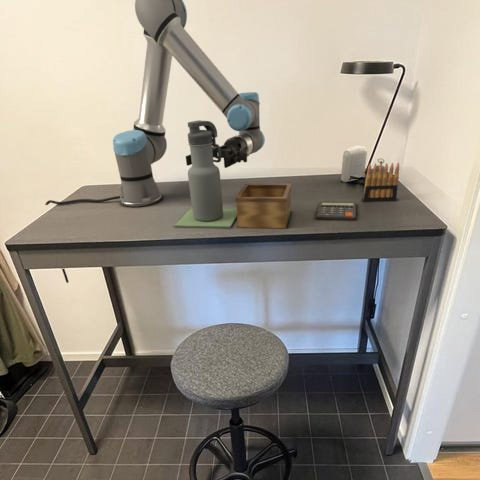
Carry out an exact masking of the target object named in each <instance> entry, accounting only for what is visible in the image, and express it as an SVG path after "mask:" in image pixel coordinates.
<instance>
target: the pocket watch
mask: <svg viewBox="0 0 480 480" xmlns="http://www.w3.org/2000/svg"><path fill="white" fill-rule="evenodd" d="M377 162H378V163H379V164H378V165H377V172H376V179H377V175H378V170H379V166H380V164H381V163H382V164H384V163H385V160H384V159H383V158H381V160H380V158H378V159H377ZM384 168H385V165H382V176H383V172H384ZM372 173H373V168H371V177H372ZM388 175H389V172H388V173H387V179H388ZM381 182H382V181H381Z"/></svg>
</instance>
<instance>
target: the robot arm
mask: <svg viewBox="0 0 480 480" xmlns="http://www.w3.org/2000/svg"><path fill="white" fill-rule="evenodd" d="M134 11H135V15H136V19H137V20H138V22H139V24H140V25H141V27H142V28H143V37H144V38H145V40H146V49H145V50H146V52H145V58H144V59H145V60H144V69H143V79H142V87H141V88H142V89H141V96H140V104H139V105H140V106H139V114H138V118H137V119H136V120H134V122H133V129H132V130H126V131H123V132H119V133H117V134H116V135H114V137H113V138H112V145H113V146H112V147H113V148H112V149H113V152H114V155H115V156H114V157H115V160H116V164H117V169H118V173H119V178H120V192H119V195H117V196H111V197H105V198H101V199H99V198H98V199H93V198H81V199H80V198H79V199H78V198H77V199H71V200H65V201H56V200H54V199H53V200H52V199H51V200H47V201H46V202H45V204H44V205H45V206H48V205H49V204H54V205H67V204H73V203H82V202H87V203H89V202H90V203H103V202H109V201H113V200H119V201H120V204H121V205H122V206H123V207H129V208H138V207H146V206H151V205H154V204H157V203H158V202H160V201H161V200H162V199H163V197H162V193H161V191H160V188H159V186H158V185H157V184H158V183H156V181H155V178H154V175H153V174H154V173H153V169H152V165H153V164H154V163H156V162H158V161H160V160H161V159H162V158H163V156H165V154H166V152H167V147H168V143H167V138H166V127H165V126H164V125H163V123H164V115H165V109H166V104H167V103H166V102H167V101H166V100H167V95H168V88H169V82H170V75H171V67H172V61H173V58H174V59H175V61H176V62H177V63H178V64H179V65H180V66H181V67H182V68H183V70H184V71H185V72H186V73H187V74H188V75H189V77H190V78H192V80H193V81H194V82H195V83H196V85H197V86H198V87H199V88H200V89H201V90H202V91H203V93H205V95H206V96H207V97H208V98H209V99H210V100H211V102H212V103H213V104H214V105H215V106H216V108H218V110H219V111H220V113H222V114H223V115H224V117H225V118H226V120H227V121H226V122H227V124H228V126H229V127H230V128H231V130H233V131H236V132H238V134H236V135H234V136H232V137H229V138H227V139H226V140H225V142H224V143H223V144H222V145H219V146H220V151H221V159H223V165H224V166H223V168H224V169H225V168H226V169H228V168H229V167H231V166H233V165H235V164H237V163H238V164H239V163H242V161H243V163H247V162H248V157H249V156H250V155H252V154H255V153H258V151H260V150H261V149H263V147H264V145H265V140H266V139H265V135H264V133H263V132H262V130H261V124H260V123H261V121H260V104H261V103H260V95H259V93H258V92H256V91H249V92H246V91H245V92H240V93H239V92H238V90H236V89H235V88H234V86H233V85H232V83H230V81H229V80H228V79H227V78H226V76H225V75H224V74H223V73H222V72H221V71H220V69H218V67H217V66H216V65H215V63H214V62H213V61H212V60H211V59H210V58H209V57H208V55H207V54H206V53H205V52H204V50H203V49H202V48H201V47H200V46H199V45H198V43H197V42H196V41H195V40H194V39H193V38H192V36H191V34H189V32H188V31H187V30H186V29H185V27H186V24H187V21H188V11H187V7H186V4H185V2H184V0H135V1H134ZM212 152H213V159H214V158H215V159H216V160H218V150H217V147H215V146H212ZM185 162H186V166H192V160H191V153H190V154H188V155H185ZM61 270H62V273H63V276H64V280H65V283H67V284H68V283H69V282H70V281H69V278H68V276H67V273H66V272H67V271H66V269H65V268H64V269H62V268H61Z"/></svg>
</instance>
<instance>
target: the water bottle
mask: <svg viewBox="0 0 480 480" xmlns="http://www.w3.org/2000/svg"><path fill="white" fill-rule="evenodd" d="M201 127H204V129H201ZM187 128H189V129H188V130H189V132H188V133H187V141H188V146H189V152H190V154H191V160H192V164H191V167H190V168H189V169H188V170H187V179H188V187H189V195H190V203H191V209H192V211H193V217H194V218H195V219H196V220H198V221H204V222H208V221H214V220H217V219H219V218H221V217H222V216H223V209H224V206H223V194H222V184H221V181H222V180H221V173H220V168H219V167H218V166H217V165H216V164H215V163H221V161H222V158H221V151H220V146H221V145H219V144H217V141H216V140H217V139H216V138H218V129H217V127H216V125H215V124H214V123H213V122H212V121H211V120H210V121H209V120H202V119H201V120H193V121H188V122H187ZM213 146H215V147H217V150H218V159H214V158H213V152H212V147H213Z"/></svg>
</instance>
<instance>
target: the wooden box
mask: <svg viewBox="0 0 480 480" xmlns="http://www.w3.org/2000/svg"><path fill="white" fill-rule="evenodd" d="M291 193H292V183H244V185H243V186H242V188H241V189H240V191H239V192H238V194H237V195H236V196H235V199H234V201H235V202H236V204H235V205H236V209H237V218H236V219H237V228H246V229H247V228H252V229H255V228H256V229H257V228H258V229H286V228H287V225H288V221H289V219H290V215H291V212H292V211H291V209H292V208H291V207H292V206H291V202H292V201H291V200H292V199H291V198H292V194H291Z"/></svg>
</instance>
